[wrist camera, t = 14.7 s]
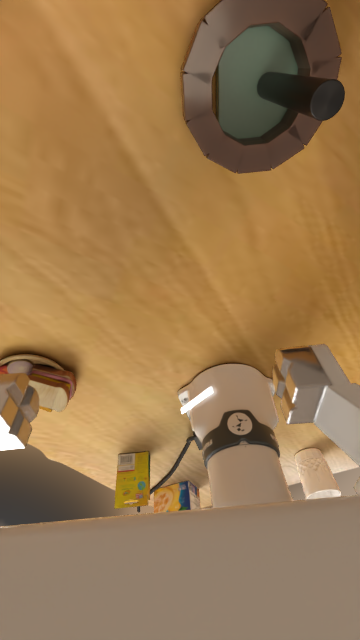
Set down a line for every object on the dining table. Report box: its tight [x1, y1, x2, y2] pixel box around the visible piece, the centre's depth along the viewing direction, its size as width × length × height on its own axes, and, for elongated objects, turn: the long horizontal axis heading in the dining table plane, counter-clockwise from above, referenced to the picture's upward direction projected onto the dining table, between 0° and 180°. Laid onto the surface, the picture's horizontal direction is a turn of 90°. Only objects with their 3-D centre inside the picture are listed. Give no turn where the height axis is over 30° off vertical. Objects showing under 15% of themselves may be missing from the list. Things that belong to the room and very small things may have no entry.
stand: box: [216, 26, 345, 139], centre depth 24 cm, size 9×9×14 cm
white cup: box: [295, 448, 341, 500], centre depth 75 cm, size 8×8×10 cm
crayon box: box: [114, 451, 150, 509], centre depth 70 cm, size 7×3×12 cm, turn 95°
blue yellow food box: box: [154, 481, 201, 513], centre depth 80 cm, size 7×11×22 cm, turn 117°
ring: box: [180, 0, 341, 174], centre depth 27 cm, size 13×13×3 cm
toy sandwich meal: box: [0, 354, 76, 412], centre depth 52 cm, size 12×14×5 cm
